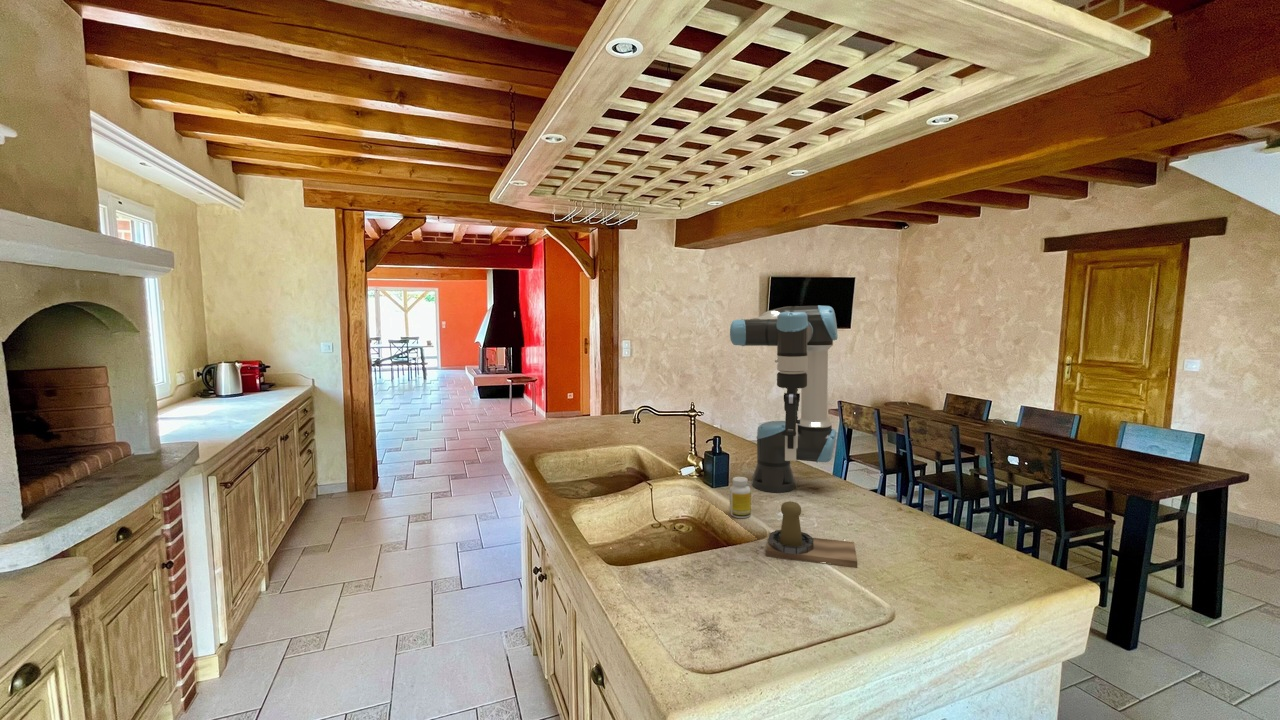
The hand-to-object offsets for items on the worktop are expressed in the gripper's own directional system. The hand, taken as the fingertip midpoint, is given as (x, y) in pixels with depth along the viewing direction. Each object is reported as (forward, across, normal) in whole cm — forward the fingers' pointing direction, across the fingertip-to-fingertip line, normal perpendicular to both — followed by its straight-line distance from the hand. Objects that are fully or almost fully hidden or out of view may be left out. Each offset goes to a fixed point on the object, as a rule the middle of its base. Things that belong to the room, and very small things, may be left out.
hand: (791, 453), depth 136 cm
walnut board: (+26, 0, +5) cm, 27 cm away
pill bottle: (+26, -20, -16) cm, 37 cm away
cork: (+25, 0, 0) cm, 25 cm away
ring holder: (+25, 0, 0) cm, 25 cm away
